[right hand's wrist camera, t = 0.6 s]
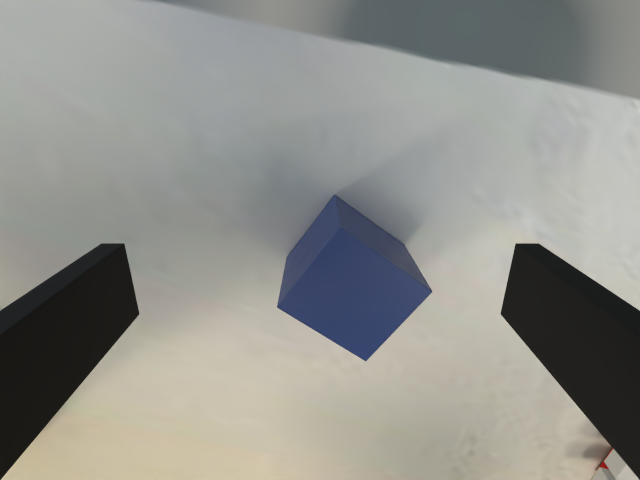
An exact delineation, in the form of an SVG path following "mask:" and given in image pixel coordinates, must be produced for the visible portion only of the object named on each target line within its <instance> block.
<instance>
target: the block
mask: <svg viewBox="0 0 640 480" xmlns="http://www.w3.org/2000/svg"><path fill="white" fill-rule="evenodd" d="M431 292H432V290H431V288H430V287H429V285H428V283H427V282H426V280H425V278H424V277H423V275H422V273H421V272H420V270H419V268H418V267H417V265H416V263H415V262H414V260H413V258H412V257H411V255H410V253H409V252H408V250H407V248H406V247H405V245H404V244H402V243H401V242H400V241H398V240H397V239H396V238H394V237H393V236H391V235H390V234H389V233H387V232H386V231H384V230H383V229H382V228H380V227H379V226H377V225H376V224H375V223H373V222H372V221H371V220H369V219H368V218H366V217H365V216H364V215H362V214H361V213H359V212H358V211H357V210H355V209H354V208H352V207H351V206H350V205H348V204H347V203H345V202H344V201H343V200H341V199H340V198H339V197H337V196H336V195H334V196H333V197H332V199H331V200H330V201H329V203H328V204H327V205H326V207H325V208H324V209H323V210H322V212H321V213H320V214H319V216H318V217H317V218H316V220H315V221H314V222H313V224H312V225H311V226H310V228H309V229H308V230H307V232H306V233H305V234H304V235H303V237H302V238H301V239H300V241H299V242H298V243H297V245H296V246H295V247H294V249H293V250H292V251H291V253H290V254H289V255H288V256H287V259H286V264H285V269H284V274H283V279H282V285H281V290H280V295H279V300H278V305H277V308H279V309H281V310H282V311H284V312H286V313H287V314H289V315H291V316H292V317H294V318H295V319H297V320H299V321H300V322H302V323H304V324H305V325H307V326H309V327H310V328H312V329H314V330H315V331H317V332H319V333H320V334H322V335H323V336H325V337H327V338H328V339H330V340H332V341H333V342H335V343H337V344H338V345H340V346H342V347H343V348H345V349H346V350H348V351H350V352H351V353H353V354H355V355H356V356H358V357H360V358H361V359H363V360H365V361H367V360H368V359H369V357H370V356H371V355H372V354H373V353H374V352H375V351H376V350H377V349H378V348H379V347H380V346H381V345H382V344H383V343H384V342H385V341H386V340H387V339H388V338H389V336H390V335H391V334H392V333H393V332H394V331H395V330H396V329H397V328H398V327H399V326H400V325H401V324H402V323H403V322H404V321H405V320H406V319H407V318H408V317H409V316H410V314H411V313H412V312H413V311H414V310H415V309H416V308H417V307H418V306H419V305H420V304H421V303H422V302H423V301H424V300H425V299H426V298H427V297H428V296H429V295H430V294H431Z"/></svg>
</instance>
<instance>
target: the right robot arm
mask: <svg viewBox="0 0 640 480" xmlns="http://www.w3.org/2000/svg"><path fill="white" fill-rule="evenodd" d="M138 315H139V310H138V305H137V301H136V296H135V291H134V287H133V282H132V277H131V273H130V268H129V263H128V259H127V254H126V249H125V245H124V244H100V245H99V246H97V247H96V248H94V249H93V250H91V251H90V252H88V253H87V254H85V255H84V256H82V257H81V258H79V259H78V260H76V261H75V262H73V263H72V264H70V265H69V266H67V267H66V268H64V269H63V270H61V271H60V272H58V273H57V274H55V275H53V276H52V277H50V278H49V279H47V280H46V281H44V282H43V283H41V284H40V285H38V286H37V287H35V288H34V289H32V290H31V291H29V292H28V293H26V294H25V295H23V296H22V297H20V298H19V299H17V300H16V301H14V302H13V303H11V304H10V305H8V306H7V307H5V308H4V309H2V310H1V311H0V480H1V479H2V477H3V476H4V475H5V474H6V473H7V471H8V470H9V469H10V468H11V467H12V465H13V464H14V463H15V462H16V461H17V459H18V458H19V457H20V456H21V455H22V453H23V452H24V451H25V450H26V449H27V447H28V446H29V445H30V444H31V443H32V442H33V440H34V439H35V438H36V437H37V436H38V434H39V433H40V432H41V431H42V430H43V428H44V427H45V426H46V425H47V424H48V422H49V421H50V420H51V419H52V418H53V416H54V415H55V414H56V413H57V412H58V410H59V409H60V408H61V407H62V406H63V405H64V403H65V402H66V401H67V400H68V399H69V397H70V396H71V395H72V394H73V393H74V391H75V390H76V389H77V388H78V387H79V385H80V384H81V383H82V382H83V381H84V379H85V378H86V377H87V376H88V375H89V373H90V372H91V371H92V370H93V369H94V368H95V366H96V365H97V364H98V363H99V362H100V360H101V359H102V358H103V357H104V356H105V354H106V353H107V352H108V351H109V350H110V348H111V347H112V346H113V345H114V344H115V342H116V341H117V340H118V339H119V338H120V336H121V335H122V334H123V333H124V332H125V331H126V329H127V328H128V327H129V326H130V325H131V323H132V322H133V321H134V320H135V319H136V317H137V316H138ZM501 315H502V316H503V317H504V319H505V320H506V321H507V322H508V323H509V325H510V326H511V327H512V328H513V329H514V331H515V332H516V333H517V334H518V335H519V336H520V338H521V339H522V340H523V341H524V342H525V344H526V345H527V346H528V347H529V348H530V350H531V351H532V352H533V353H534V354H535V356H536V357H537V358H538V359H539V360H540V362H541V363H542V364H543V365H544V366H545V368H546V369H547V370H548V371H549V372H550V373H551V375H552V376H553V377H554V378H555V379H556V381H557V382H558V383H559V384H560V385H561V387H562V388H563V389H564V390H565V391H566V393H567V394H568V395H569V396H570V397H571V399H572V400H573V401H574V402H575V403H576V405H577V406H578V407H579V408H580V409H581V410H582V412H583V413H584V414H585V415H586V416H587V418H588V419H589V420H590V421H591V422H592V424H593V425H594V426H595V427H596V428H597V430H598V431H599V432H600V433H601V434H602V436H603V437H604V438H605V439H606V440H607V442H608V443H609V444H610V445H611V446H612V447H613V449H614V450H615V451H616V452H617V453H618V455H619V456H620V457H621V458H622V459H623V461H624V462H625V463H626V464H627V465H628V467H629V468H630V469H631V470H632V471H633V473H634V474H635V475H636V476H637V477H638V479H639V480H640V311H639V310H638V309H636V308H635V307H633V306H632V305H630V304H629V303H627V302H626V301H624V300H623V299H621V298H620V297H618V296H617V295H615V294H614V293H612V292H611V291H609V290H608V289H606V288H605V287H603V286H602V285H600V284H599V283H597V282H596V281H594V280H593V279H591V278H590V277H588V276H586V275H585V274H583V273H582V272H580V271H579V270H577V269H576V268H574V267H573V266H571V265H570V264H568V263H567V262H565V261H564V260H562V259H561V258H559V257H558V256H556V255H555V254H553V253H552V252H550V251H549V250H547V249H546V248H544V247H543V246H541V245H540V244H516V245H515V249H514V254H513V259H512V263H511V268H510V273H509V277H508V282H507V287H506V291H505V296H504V301H503V305H502V310H501Z"/></svg>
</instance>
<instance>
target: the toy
mask: <svg viewBox="0 0 640 480" xmlns="http://www.w3.org/2000/svg"><path fill="white" fill-rule="evenodd" d="M590 480H639V479H638V477H637V476H636V475H635V474H634V473H633V471H632V470H631V469H630V468H629V467H628V465H627V464H626V463H625V462H624V461H623V459H622V458H621V457H620V456H619V455H618V453H617V452H616V451H615V450H614V449H613V448H612V449H611V451H610V452H609V454H608V455H607V457H606V458H605V460H604V461H603V462H602V464H601V465H600V467H599V468H598V470H597V471H596V473H595V474H594V475H593V477H592V478H591V479H590Z"/></svg>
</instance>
